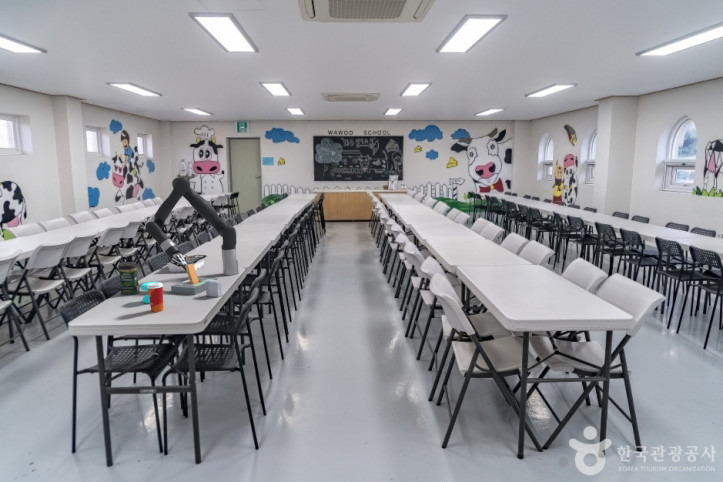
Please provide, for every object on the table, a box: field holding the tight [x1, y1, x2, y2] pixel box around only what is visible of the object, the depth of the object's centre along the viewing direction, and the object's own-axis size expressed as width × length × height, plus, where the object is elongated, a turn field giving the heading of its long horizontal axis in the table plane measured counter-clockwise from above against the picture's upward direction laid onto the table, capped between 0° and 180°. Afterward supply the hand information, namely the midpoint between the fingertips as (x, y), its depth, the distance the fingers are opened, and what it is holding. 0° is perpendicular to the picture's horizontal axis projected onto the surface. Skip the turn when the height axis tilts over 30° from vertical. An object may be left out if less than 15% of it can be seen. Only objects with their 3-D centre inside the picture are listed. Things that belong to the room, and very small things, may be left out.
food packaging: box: [163, 254, 208, 273], centre depth 324 cm, size 25×8×23 cm
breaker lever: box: [185, 264, 199, 284], centre depth 271 cm, size 2×5×12 cm, turn 162°
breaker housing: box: [170, 276, 218, 296], centre depth 271 cm, size 16×22×4 cm
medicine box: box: [205, 279, 224, 298], centre depth 256 cm, size 8×4×9 cm, turn 71°
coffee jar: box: [117, 261, 141, 296], centre depth 263 cm, size 10×8×19 cm
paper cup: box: [147, 281, 164, 313], centre depth 231 cm, size 8×8×14 cm
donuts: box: [140, 281, 159, 304], centre depth 248 cm, size 10×10×10 cm
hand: (188, 270), depth 271 cm, fingers closed
